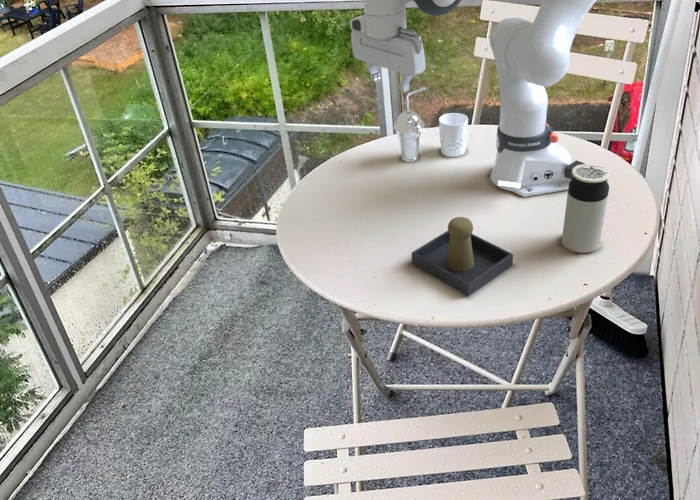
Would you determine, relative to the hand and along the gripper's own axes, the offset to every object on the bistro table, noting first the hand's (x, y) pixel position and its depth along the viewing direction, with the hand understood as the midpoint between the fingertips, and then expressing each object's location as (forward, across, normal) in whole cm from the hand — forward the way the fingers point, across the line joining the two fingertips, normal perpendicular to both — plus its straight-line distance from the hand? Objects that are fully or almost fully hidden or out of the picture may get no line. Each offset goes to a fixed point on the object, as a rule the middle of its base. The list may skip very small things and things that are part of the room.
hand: (389, 85), depth 147 cm
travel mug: (+32, -43, -15) cm, 55 cm away
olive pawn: (+31, -29, +9) cm, 43 cm away
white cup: (+31, +8, -29) cm, 43 cm away
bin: (+31, -29, +8) cm, 43 cm away
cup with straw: (+31, +14, -19) cm, 39 cm away
